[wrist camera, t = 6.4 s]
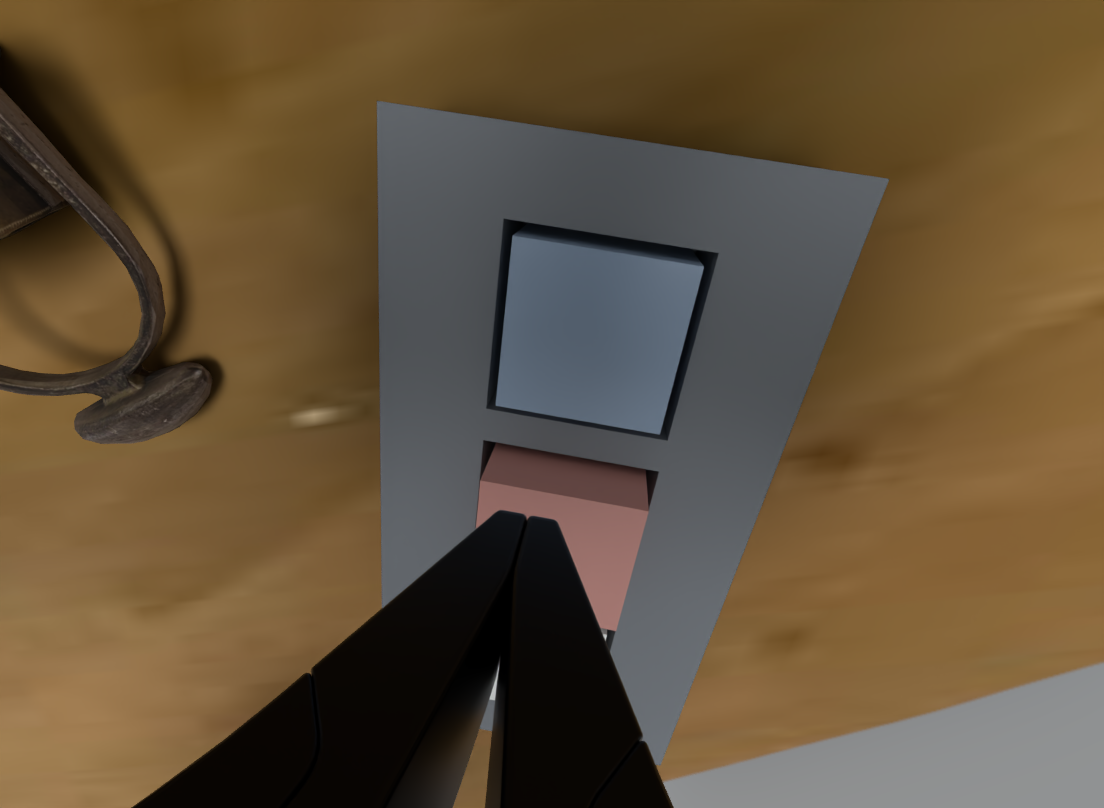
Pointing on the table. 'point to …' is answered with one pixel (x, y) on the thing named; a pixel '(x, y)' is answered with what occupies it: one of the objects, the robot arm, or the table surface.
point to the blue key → (594, 326)
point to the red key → (576, 513)
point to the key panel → (669, 458)
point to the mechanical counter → (125, 386)
